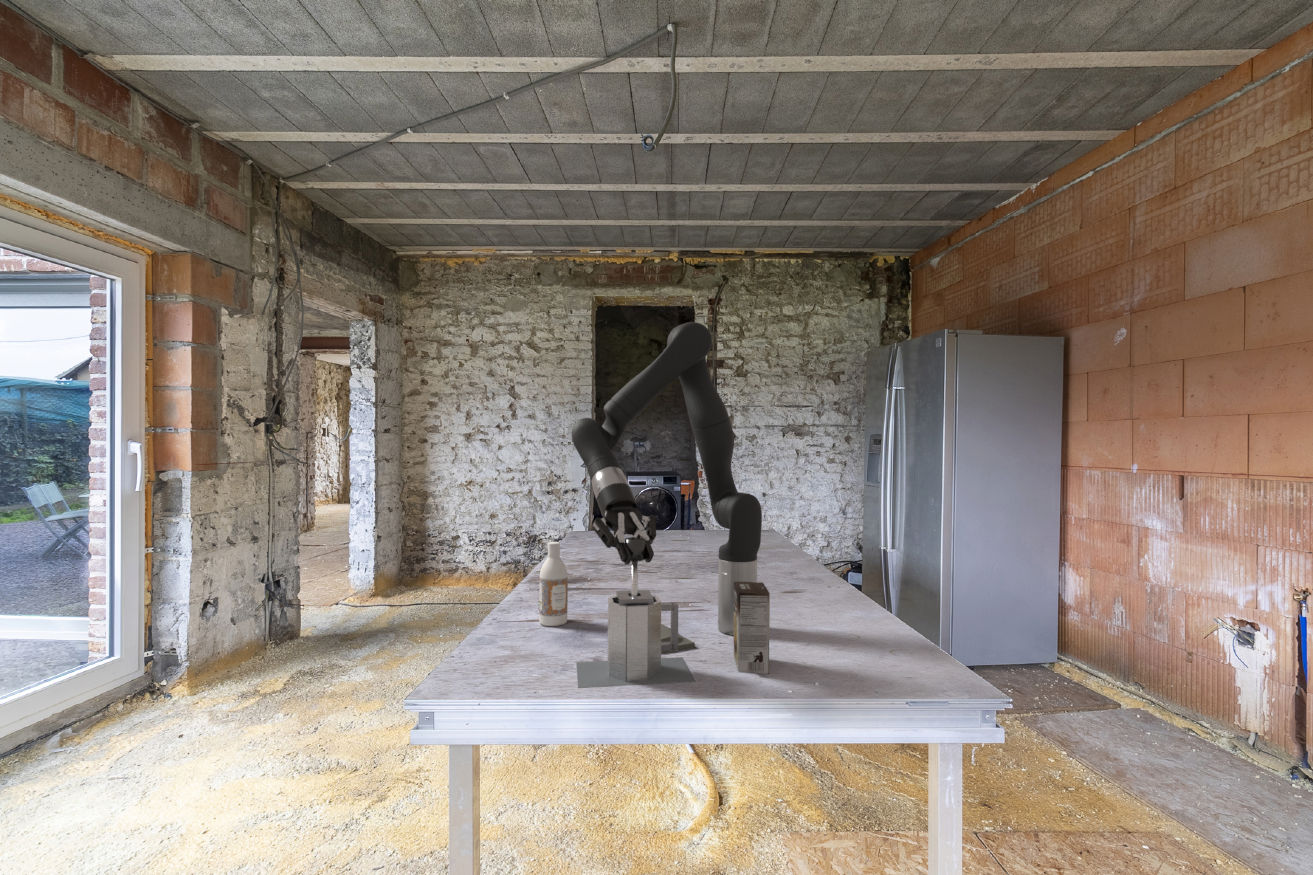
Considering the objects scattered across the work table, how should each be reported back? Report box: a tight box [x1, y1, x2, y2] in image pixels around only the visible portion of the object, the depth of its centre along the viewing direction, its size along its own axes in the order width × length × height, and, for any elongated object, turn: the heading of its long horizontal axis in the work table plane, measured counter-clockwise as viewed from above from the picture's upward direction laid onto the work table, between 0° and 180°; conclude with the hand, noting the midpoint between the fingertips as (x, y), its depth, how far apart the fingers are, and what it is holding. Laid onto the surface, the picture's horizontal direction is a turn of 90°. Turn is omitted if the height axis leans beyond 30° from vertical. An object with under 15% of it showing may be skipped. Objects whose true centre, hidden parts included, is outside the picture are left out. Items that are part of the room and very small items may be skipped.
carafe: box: [607, 589, 679, 682], centre depth 120 cm, size 14×10×15 cm
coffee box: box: [733, 581, 771, 675], centre depth 124 cm, size 9×6×16 cm
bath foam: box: [538, 541, 569, 627], centre depth 152 cm, size 7×7×20 cm
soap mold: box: [661, 623, 696, 655], centre depth 140 cm, size 10×20×4 cm, turn 28°
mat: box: [576, 656, 697, 689], centre depth 119 cm, size 22×13×1 cm, turn 99°
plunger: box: [624, 536, 645, 606], centre depth 119 cm, size 7×7×21 cm
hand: (639, 560), depth 118 cm, fingers closed on plunger, 4 cm apart
